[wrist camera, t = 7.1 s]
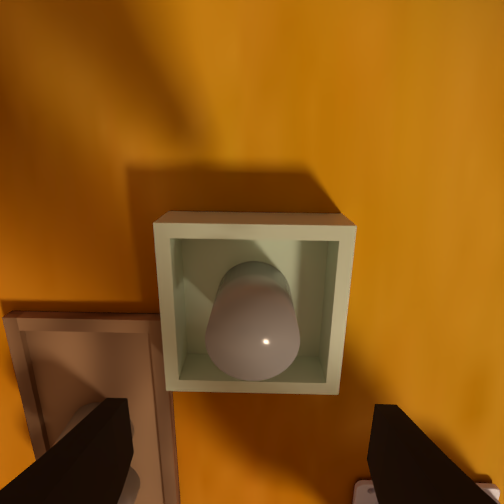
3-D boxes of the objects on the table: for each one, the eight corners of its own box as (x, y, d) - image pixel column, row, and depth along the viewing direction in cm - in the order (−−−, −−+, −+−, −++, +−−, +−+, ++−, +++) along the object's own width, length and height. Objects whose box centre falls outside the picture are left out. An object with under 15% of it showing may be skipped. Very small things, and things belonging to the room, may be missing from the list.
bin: (341, 213, 18) (356, 225, 15) (328, 361, 20) (338, 394, 18) (168, 211, 18) (153, 222, 15) (178, 358, 20) (166, 390, 18)
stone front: (293, 263, 18) (304, 300, 14) (287, 330, 19) (295, 383, 15) (218, 258, 18) (205, 294, 14) (216, 325, 19) (204, 378, 15)
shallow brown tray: (166, 313, 20) (163, 320, 19) (181, 513, 24) (178, 525, 24) (12, 310, 20) (2, 317, 19) (56, 510, 25) (50, 522, 24)
